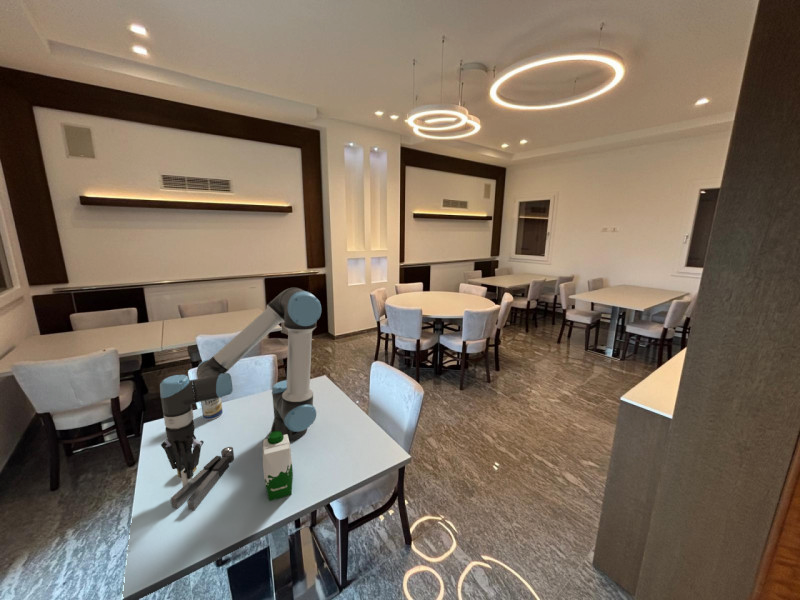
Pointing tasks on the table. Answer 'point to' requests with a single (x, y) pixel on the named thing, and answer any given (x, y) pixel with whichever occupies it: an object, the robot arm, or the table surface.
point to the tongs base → (211, 478)
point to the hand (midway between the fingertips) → (188, 485)
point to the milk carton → (277, 465)
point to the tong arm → (193, 484)
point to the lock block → (179, 474)
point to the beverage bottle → (211, 408)
